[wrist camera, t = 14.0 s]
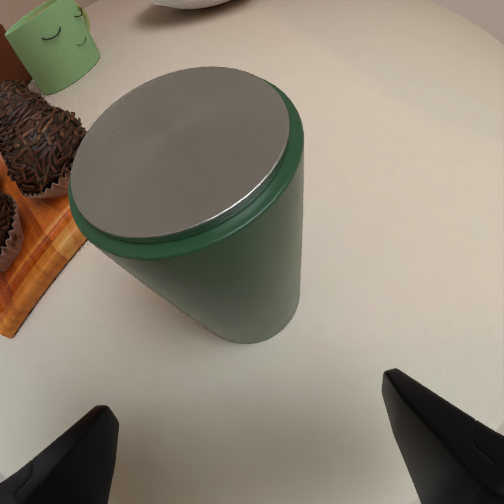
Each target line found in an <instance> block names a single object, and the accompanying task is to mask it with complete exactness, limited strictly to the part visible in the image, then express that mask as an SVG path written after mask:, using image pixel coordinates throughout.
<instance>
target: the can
mask: <svg viewBox="0 0 504 504" xmlns="http://www.w3.org/2000/svg"><path fill="white" fill-rule="evenodd" d="M303 190H304V132H303V126H302V121H301V118H300V116H299V113H298V111H297V109H296V108H295V106H294V104H293V103H292V101H291V100H290V99H289V98H288V97H287V96H286V95H285V93H284V92H282V91H281V90H280V89H279V88H277V87H276V86H275V85H273V84H271V83H270V82H268V81H266V80H264V79H262V78H259V77H257V76H255V75H253V74H250V73H248V72H245V71H241V70H238V69H233V68H226V67H197V68H190V69H184V70H179V71H176V72H172V73H169V74H165V75H163V76H160V77H157V78H155V79H153V80H150V81H148V82H146V83H144V84H142V85H140V86H138V87H136V88H135V89H133V90H131V91H130V92H128V93H127V94H125V95H124V96H122V97H121V98H120V99H118V100H117V101H116V102H115V103H113V104H112V105H111V106H110V107H109V108H108V109H107V110H106V111H105V112H104V113H103V114H102V115H101V116H100V117H99V118H98V119H97V120H96V121H95V123H94V124H93V125H92V126H91V128H90V129H89V130H88V132H87V133H86V135H85V137H84V138H83V140H82V142H81V144H80V146H79V148H78V150H77V153H76V155H75V158H74V162H73V166H72V170H71V174H70V178H69V186H68V198H69V205H70V210H71V214H72V216H73V219H74V221H75V223H76V225H77V227H78V228H79V230H80V231H81V233H82V234H83V235H84V236H85V237H86V238H87V239H88V240H89V241H90V242H91V243H92V244H93V245H95V246H96V247H97V248H98V249H99V250H101V251H102V252H103V253H104V254H106V255H107V256H108V257H109V258H111V259H112V260H113V261H114V262H116V263H117V264H118V265H120V266H121V267H122V268H123V269H125V270H126V271H127V272H129V273H130V274H131V275H133V276H134V277H135V278H137V279H138V280H139V281H141V282H142V283H143V284H145V285H146V286H147V287H149V288H150V289H151V290H153V291H154V292H155V293H157V294H158V295H159V296H161V297H162V298H164V299H165V300H166V301H168V302H169V303H171V304H172V305H173V306H175V307H176V308H178V309H179V310H180V311H182V312H183V313H185V314H186V315H188V316H189V317H191V318H192V319H193V320H195V321H196V322H198V323H199V324H201V325H202V326H204V327H205V328H207V329H208V330H210V331H211V332H213V333H214V334H216V335H217V336H219V337H221V338H222V339H225V340H227V341H230V342H234V343H240V344H252V343H258V342H261V341H265V340H267V339H269V338H271V337H273V336H275V335H276V334H278V333H279V332H280V331H281V330H283V329H284V328H285V327H286V325H287V324H288V323H289V322H290V320H291V319H292V317H293V315H294V314H295V312H296V309H297V306H298V302H299V295H300V278H301V256H302V229H303Z"/></svg>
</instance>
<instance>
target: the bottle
mask: <svg viewBox="0 0 504 504" xmlns="http://www.w3.org/2000/svg"><path fill="white" fill-rule="evenodd" d="M5 33H6V30H5V29H4V27H3V25H1V24H0V84H1V83H2V81H3V80H4V81H5V80H7V79H13V80H19V81H20V82H21V83H22V81H24V82H25V83H24V84H25V86H27V84H28V83H29V82H30V80H31V78H32V77H31V75H30V74H29V72H28V71H27V69H26V68H25V66H24V65H23V63H22V62H21V60H20V59H19V57H18V56H17V54H16V52H15V51H14V49H13V48H12V46H11V45H10V43H9V41H8V40H7V38H6V37H5Z"/></svg>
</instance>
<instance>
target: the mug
mask: <svg viewBox="0 0 504 504" xmlns="http://www.w3.org/2000/svg"><path fill="white" fill-rule="evenodd" d="M79 11H80V12H81V14H80V12H79ZM82 15H83V17H84V20H85V23H84V21H83V19H82V17H81V16H82ZM85 24H86V25H85ZM89 31H90V24H89V19H88V16H87V14H86V12H85V11H84V9H83V8H82V7H81V6H80V5H78V4H76V3H75V2H74V0H48V1H46V2H45V3H43V4H42V5H40V6H38V7H37V8H35V9H34V10H33V11H31V12H30V13H28V14H27V15H26V16H24V17H23V18H22V19H20V20H19V21H18V22H17V23H16V24H14V25H13V26H12V27H11V28H10V29H9V30H8V31H7V32H6V33H5V37H6V38H7V40H8V41H9V43H10V45H11V46H12V48H13V49H14V51H15V52H16V54H17V56H18V57H19V59H20V60H21V62H22V63H23V65H24V66H25V68H26V69H27V71H28V72H29V74H30V75H31V77H32V78H33V80H34V81H35V83H36V84H37V85H38V87H39V88H40V90H41V91H42V93H43V94H45V95H50V94H53V93H56V92H58V91H60V90H62V89H64V88H66V87H68V86H69V85H71V84H72V83H74V82H75V81H77V80H78V79H80V78H81V77H82V76H83V75H85V74H86V73H87V72H88V71H89V70H90V69H91V68H92V67H93V66H94V65H95V64H96V63H97V61H98V60H99V58H100V53H99V51H98V49H97V47H96V45H95V43H94V41H93V39H92V37H91V35H90V33H89Z"/></svg>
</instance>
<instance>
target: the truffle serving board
mask: <svg viewBox="0 0 504 504" xmlns="http://www.w3.org/2000/svg"><path fill="white" fill-rule="evenodd" d="M24 83H25V82H24V81H22V83H21V82H20V81H19V80H13V79H7V80H5V81H4V80H3V81H2V83H1V84H0V334H1V335H3V336H5V337H8V338H12V337H13V336H14V334H15V333H16V331H17V330H18V328H19V327H20V325H21V324H22V322H23V321H24V319H25V318H26V317H27V315H28V314H29V312H30V311H31V309H32V308H33V307H34V305H35V304H36V302H37V301H38V300H39V298H40V297H41V296H42V294H43V293H44V292H45V290H46V289H47V288H48V286H49V285H50V284H51V282H52V281H53V280H54V278H55V277H56V276H57V275H58V273H59V272H60V271H61V270H62V268H63V267H64V266H65V265H66V263H67V262H68V261H69V260H70V258H71V257H72V256H73V255H74V254H75V252H76V251H77V250H78V249H79V248H80V246H81V245H82V244H83V243H84V242H85V241H86V239H87V238H86V237H85V236H84V235H83V234H82V233H81V231H80V230H79V228H78V227H77V225H76V223H75V221H74V219H73V216H72V214H71V210H70V205H69V198H68V186H69V178H70V174H71V170H72V166H73V162H74V158H75V155H76V153H77V150H78V148H79V146H80V144H81V142H82V140H83V138H84V137H85V135H86V133H87V132H88V131H85V128H83V127H82V126H81V125H82V123H80V118H78V120H77V119H76V118H75V117H74V116H75V112H71V114H70V112H69V111H64V110H62V109H61V108H58V107H56V108H55V107H52V105H50V103H47V101H44V98H43V97H42V96H41V94H40V93H36V92H33V91H31V89H30V90H29V89H28V87H29V86H28V84H27V87H26V86H25V84H24Z"/></svg>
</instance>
